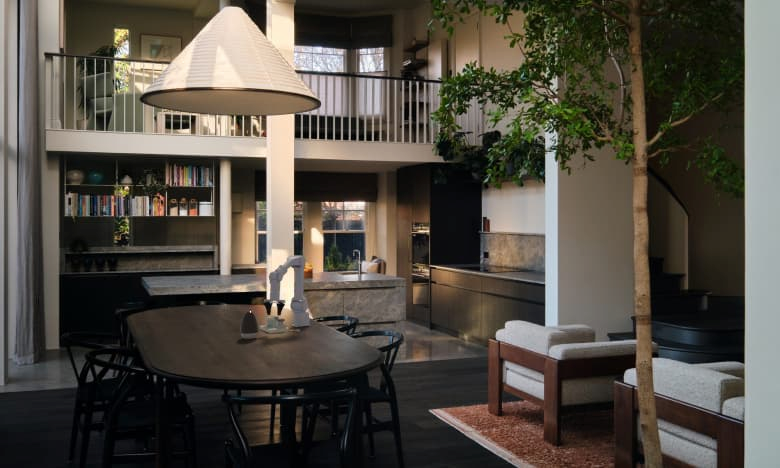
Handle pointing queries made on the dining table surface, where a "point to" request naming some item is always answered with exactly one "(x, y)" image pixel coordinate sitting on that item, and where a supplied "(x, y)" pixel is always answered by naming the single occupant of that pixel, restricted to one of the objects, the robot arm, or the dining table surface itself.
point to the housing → (275, 328)
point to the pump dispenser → (249, 326)
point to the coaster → (294, 330)
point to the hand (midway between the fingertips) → (273, 315)
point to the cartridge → (270, 322)
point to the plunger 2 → (280, 321)
